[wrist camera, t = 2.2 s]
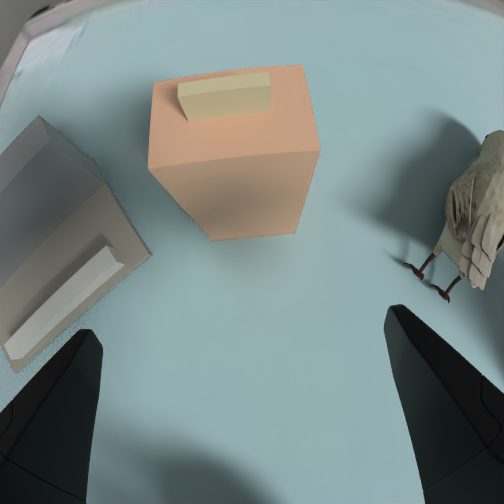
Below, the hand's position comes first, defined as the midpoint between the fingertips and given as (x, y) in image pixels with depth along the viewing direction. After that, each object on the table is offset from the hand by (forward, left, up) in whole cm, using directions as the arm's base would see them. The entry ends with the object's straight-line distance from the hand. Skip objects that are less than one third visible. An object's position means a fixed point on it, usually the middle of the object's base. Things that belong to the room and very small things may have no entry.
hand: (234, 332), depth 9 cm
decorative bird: (-17, -8, -14) cm, 23 cm away
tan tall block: (+1, -8, -14) cm, 16 cm away
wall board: (+18, -2, -14) cm, 23 cm away
